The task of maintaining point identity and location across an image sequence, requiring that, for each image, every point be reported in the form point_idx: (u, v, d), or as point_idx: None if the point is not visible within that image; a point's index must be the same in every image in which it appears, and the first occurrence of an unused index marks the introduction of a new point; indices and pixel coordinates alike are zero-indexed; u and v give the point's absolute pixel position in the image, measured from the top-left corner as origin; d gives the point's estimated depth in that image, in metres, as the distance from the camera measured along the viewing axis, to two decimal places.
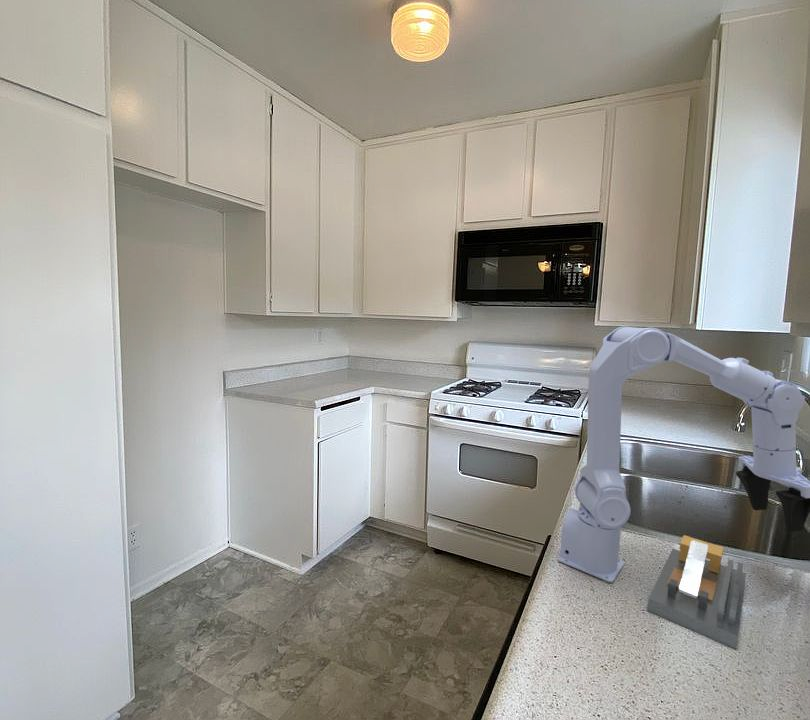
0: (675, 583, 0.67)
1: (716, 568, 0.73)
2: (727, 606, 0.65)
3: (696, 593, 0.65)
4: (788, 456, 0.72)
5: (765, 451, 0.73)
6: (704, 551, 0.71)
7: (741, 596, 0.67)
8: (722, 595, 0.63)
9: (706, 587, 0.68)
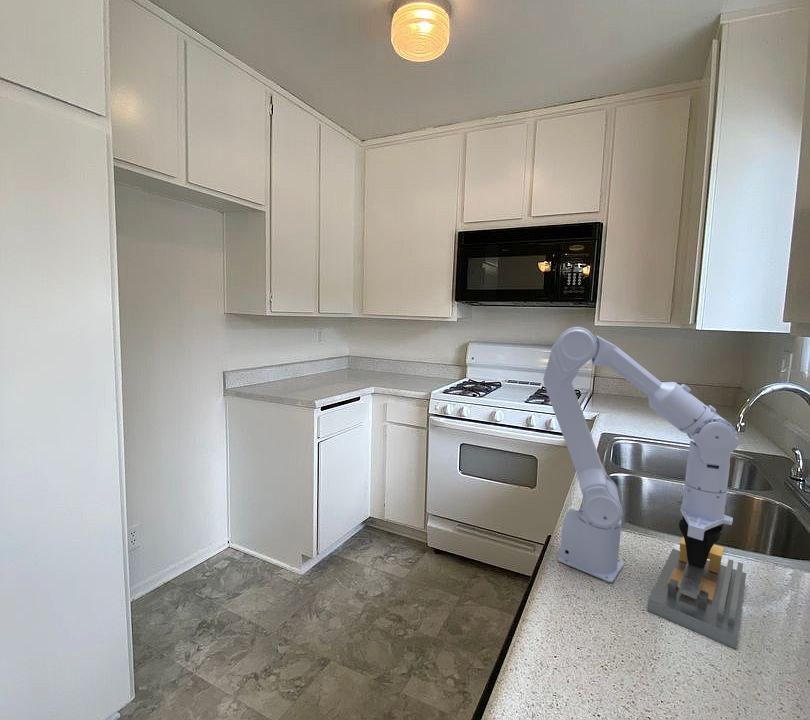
0: (675, 583, 0.67)
1: (716, 568, 0.73)
2: (727, 606, 0.65)
3: (696, 593, 0.65)
4: (703, 497, 0.68)
5: (686, 485, 0.71)
6: None
7: (741, 596, 0.67)
8: (722, 595, 0.63)
9: (706, 587, 0.68)
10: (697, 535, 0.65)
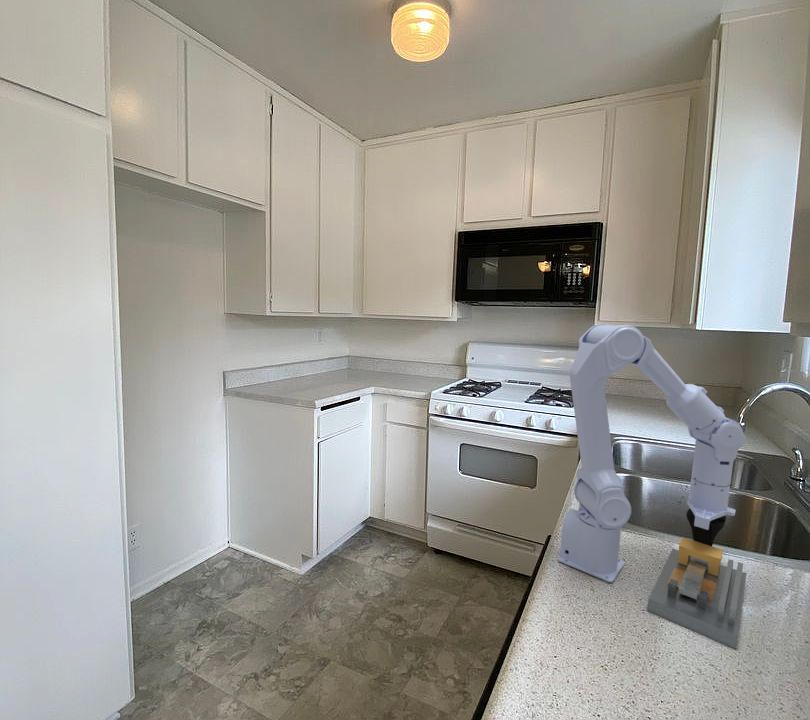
0: (675, 583, 0.67)
1: (715, 570, 0.72)
2: (727, 606, 0.65)
3: (696, 593, 0.65)
4: (708, 490, 0.74)
5: (692, 480, 0.77)
6: (702, 569, 0.72)
7: (741, 596, 0.67)
8: (722, 595, 0.63)
9: (706, 587, 0.68)
10: (703, 525, 0.71)
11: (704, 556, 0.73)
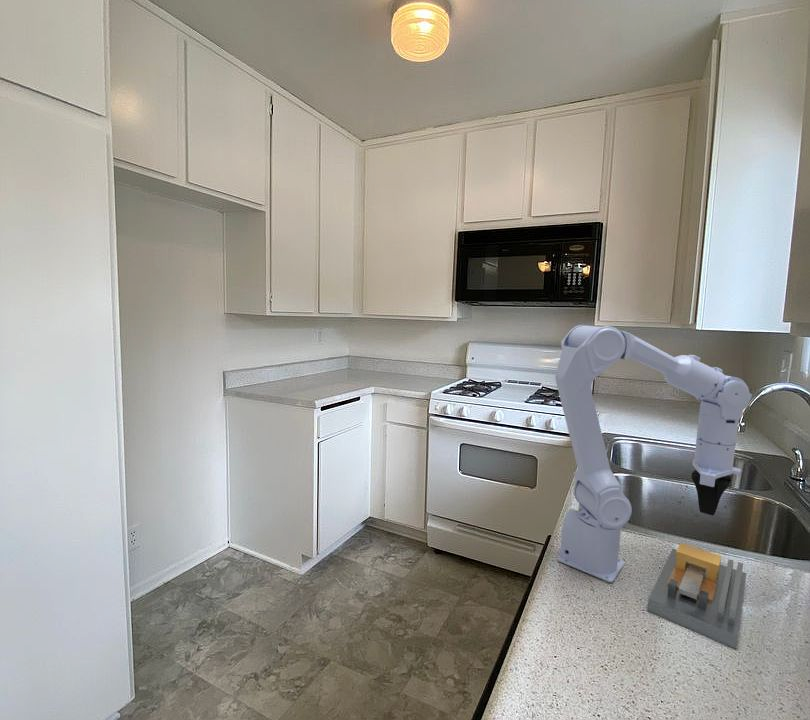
0: (675, 583, 0.67)
1: (713, 577, 0.70)
2: (727, 606, 0.65)
3: (696, 593, 0.65)
4: (714, 449, 0.74)
5: (697, 440, 0.77)
6: (702, 569, 0.72)
7: (741, 596, 0.67)
8: (722, 595, 0.63)
9: (706, 587, 0.68)
10: (709, 483, 0.71)
11: (702, 562, 0.71)
